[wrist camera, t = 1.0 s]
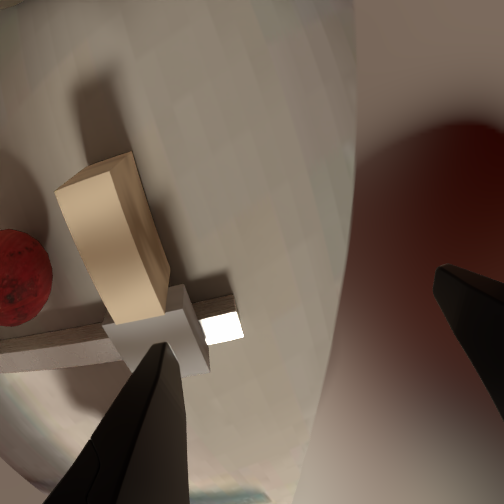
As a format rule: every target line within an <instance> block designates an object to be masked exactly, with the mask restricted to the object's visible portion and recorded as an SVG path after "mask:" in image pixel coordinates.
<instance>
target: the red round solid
mask: <svg viewBox="0 0 504 504" xmlns="http://www.w3.org/2000/svg"><path fill="white" fill-rule="evenodd" d="M52 278H53V273H52V267H51V263H50V260H49V256H48V253H47V252H46V251H45V249H44V248H43V247H42V245H41V244H40V243H39V241H37V240H36V239H34V238H33V237H31V236H30V235H28V234H27V233H24V232H20V231H17V230H12V229H6V230H1V231H0V326H10V327H12V326H18V325H21V324H23V323H25V322H27V321H29V320H31V319H33V318H34V317H36V316H37V314H38V313H39V312H40V310H41V309H42V308H43V306H44V304H45V303H46V301H47V300H48V297H49V295H50V292H51V286H52Z"/></svg>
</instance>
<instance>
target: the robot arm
mask: <svg viewBox="0 0 504 504" xmlns="http://www.w3.org/2000/svg"><path fill="white" fill-rule="evenodd" d="M433 294H434V297H435V299H436V301H437V302H438V304H439V306H440V308H441V310H442V312H443V313H444V316H445V317H446V319H447V321H448V323H449V325H450V327H451V329H452V330H453V333H454V335H455V336H456V338H457V340H458V341H459V343H460V344H461V346H462V348H463V349H464V351H465V353H466V354H467V356H468V358H469V359H470V361H471V362H472V364H473V366H474V368H475V369H476V371H477V373H478V374H479V376H480V378H481V380H482V382H483V383H484V385H485V387H486V389H487V391H488V393H489V394H490V396H491V398H492V400H493V402H494V404H495V405H496V408H497V410H498V412H499V413H500V415H501V417H502V420H503V422H504V283H502V282H499V281H496V280H493V279H491V278H488V277H485V276H482V275H480V274H477V273H474V272H471V271H468V270H466V269H463V268H460V267H457V266H454V265H451V264H445V265H442V266H439V267H438V268H437V269H436V271H435V278H434V284H433ZM43 504H190V500H189V484H188V463H187V433H186V412H185V404H184V397H183V389H182V381H181V373H180V366H179V363H178V360H177V358H176V356H175V354H174V353H173V351H172V349H171V347H170V345H169V344H168V343H167V342H159V343H154V344H153V345H151V347H150V348H149V350H148V351H147V353H146V354H145V356H144V357H143V359H142V360H141V362H140V363H139V364H138V366H137V367H136V369H135V370H134V372H133V373H132V375H131V376H130V378H129V379H128V381H127V382H126V384H125V385H124V387H123V388H122V390H121V391H120V393H119V394H118V396H117V397H116V399H115V400H114V402H113V404H112V405H111V407H110V408H109V410H108V411H107V413H106V414H105V416H104V417H103V419H102V420H101V422H100V423H99V425H98V427H97V428H96V430H95V431H94V433H93V434H92V436H91V440H88V442H87V443H86V445H85V447H84V448H83V450H82V451H81V453H80V454H79V456H78V457H77V459H76V460H75V462H74V463H73V465H72V466H71V467H70V469H69V470H68V471H67V473H66V474H65V475H64V477H63V478H62V479H61V481H60V482H59V483H58V484H57V486H56V487H55V488H54V489H53V491H52V492H51V493H50V495H49V496H48V497H47V499H46V500H45V501H44V502H43Z"/></svg>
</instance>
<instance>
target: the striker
mask: <svg viewBox="0 0 504 504" xmlns="http://www.w3.org/2000/svg"><path fill="white" fill-rule="evenodd" d="M54 192H55V195H56V198H57V200H58V203H59V206H60V208H61V211H62V213H63V216H64V218H65V221H66V223H67V226H68V228H69V231H70V233H71V235H72V238H73V240H74V242H75V244H76V247H77V249H78V251H79V253H80V256H81V258H82V260H83V262H84V264H85V266H86V268H87V270H88V273H89V275H90V277H91V279H92V281H93V283H94V285H95V287H96V289H97V291H98V293H99V295H100V296H101V298H102V300H103V302H104V304H105V306H106V308H107V311H106V314H105V317H104V320H103V323H102V327H103V328H104V330H105V332H106V333H107V335H108V337H109V338H110V340H111V342H112V343H113V345H114V346H115V348H116V350H117V351H118V353H119V354H120V356H121V357H122V359H123V360H124V362H125V363H126V365H127V366H128V368H129V369H130V371H131V372H132V373H133V372H134V370H135V369H136V367H137V366H138V364H139V363H140V362H141V360H142V359H143V357H144V356H145V354H146V353H147V351H148V350H149V348H150V347H151V345H153V344H154V343H159V342H167V343H168V344H169V345H170V347H171V349H172V351H173V353H174V354H175V356H176V358H177V360H178V363H179V366H180V373H181V378H183V377H188V376H194V375H199V374H205V373H210V362H209V348H208V344H207V342H206V339H205V337H204V334H203V332H202V329H201V327H200V324H199V322H198V319H197V317H196V314H195V312H194V309H193V306H192V304H191V301H190V299H189V296H188V293H187V291H186V288H185V285H184V284H180V285H176V286H172V287H168V285H169V277H170V266H169V264H168V261H167V258H166V255H165V253H164V250H163V247H162V244H161V241H160V238H159V236H158V233H157V230H156V227H155V224H154V221H153V218H152V215H151V212H150V209H149V206H148V203H147V200H146V197H145V194H144V190H143V187H142V184H141V181H140V178H139V174H138V171H137V168H136V164H135V161H134V157H133V154H132V151H131V152H127V153H124V154H121V155H118V156H115V157H112V158H109V159H106V160H104V161H101V162H98V163H95V164H92V165H90V166H87V167H85V168H84V169H83V170H81V171H80V172H78V173H77V174H76V175H74V176H73V177H72V178H71V179H69V180H68V181H67V182H65V183H64V184H63V185H62V186H60V187H59V188H58V189H57V190H55V191H54Z"/></svg>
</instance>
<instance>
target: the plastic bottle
mask: <svg viewBox="0 0 504 504" xmlns="http://www.w3.org/2000/svg"><path fill="white" fill-rule="evenodd" d="M22 1H24V0H0V9H4V8H8V7H12V6H14V5H16V4H18V3H20V2H22Z"/></svg>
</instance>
